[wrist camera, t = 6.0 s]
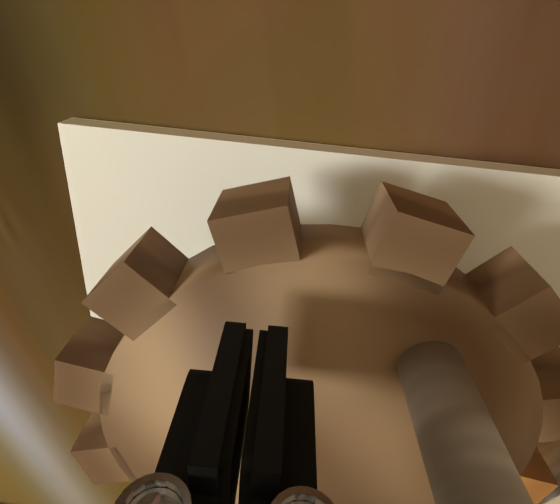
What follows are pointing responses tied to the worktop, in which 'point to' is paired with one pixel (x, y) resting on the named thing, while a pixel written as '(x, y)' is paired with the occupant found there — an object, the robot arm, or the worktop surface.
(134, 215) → the stand
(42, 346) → the worktop surface
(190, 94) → the worktop surface
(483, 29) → the worktop surface
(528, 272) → the sprocket
